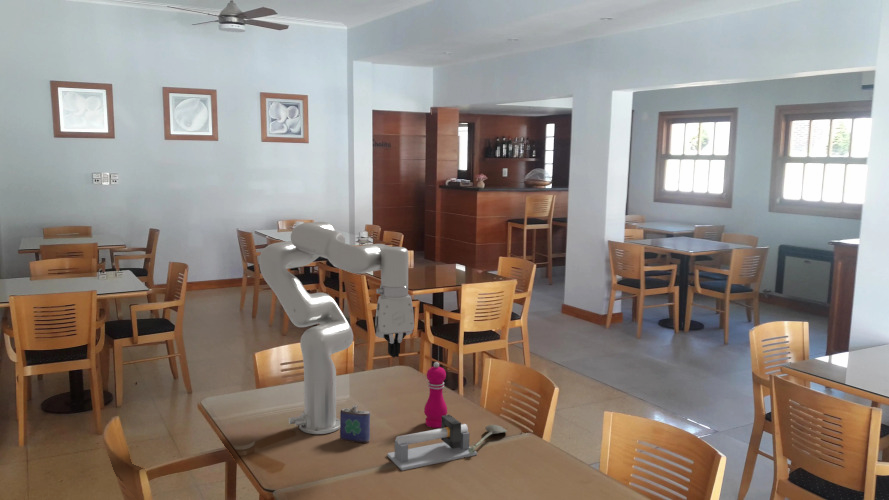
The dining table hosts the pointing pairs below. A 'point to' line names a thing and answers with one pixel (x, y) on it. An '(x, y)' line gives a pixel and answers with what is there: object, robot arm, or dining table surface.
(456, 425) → the collar
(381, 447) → the dining table surface
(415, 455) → the rail
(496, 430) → the soupspoon
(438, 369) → the pepper mill
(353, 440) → the flask
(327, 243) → the robot arm
